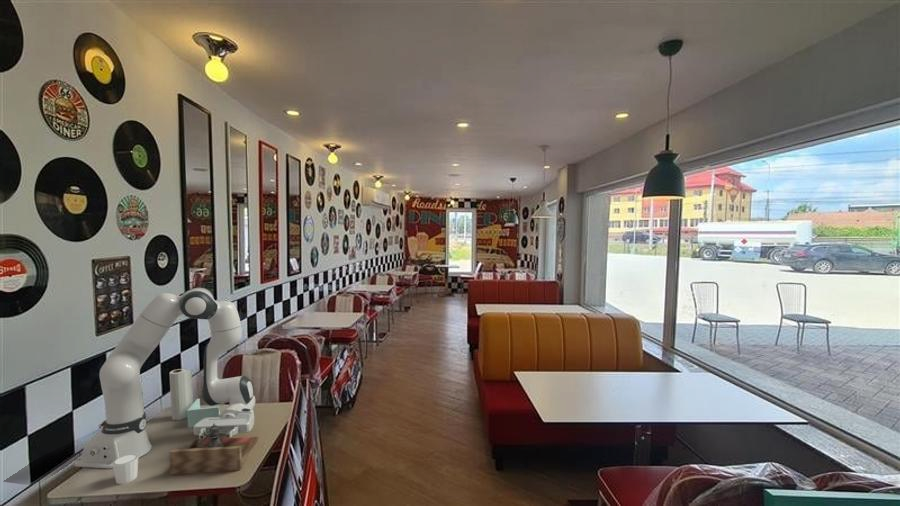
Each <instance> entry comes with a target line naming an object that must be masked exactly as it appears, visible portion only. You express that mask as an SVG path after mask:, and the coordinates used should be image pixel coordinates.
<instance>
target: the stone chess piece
mask: <svg viewBox="0 0 900 506" xmlns="http://www.w3.org/2000/svg"><path fill="white" fill-rule="evenodd" d="M220 435H221V434H220V433H219V427H218V426H217V425H215V424H213V426H211V427H210V435H208V438H209V439H210V444H208V445H207V446H206V448H212V447H223V445H224V442H222V441H220V440H219V439H220Z"/></svg>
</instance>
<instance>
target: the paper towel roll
mask: <svg viewBox="0 0 900 506" xmlns="http://www.w3.org/2000/svg"><path fill="white" fill-rule="evenodd" d="M192 374H193V373H192V369H188V370H186V369H185V368H178V369H173V370H171V371H170V372H169V374H168V375H169V388H170V389H169V390H170V407H171V420H173V421H180V420H183V419H188V418H187V410H188V409H189V408H190V407H191V405H192V404H193V403H194V398H193V397H194V396H193V392H194V391H193V376H192Z"/></svg>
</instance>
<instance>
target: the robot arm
mask: <svg viewBox="0 0 900 506" xmlns="http://www.w3.org/2000/svg"><path fill="white" fill-rule="evenodd" d="M180 316H184V317H186V318H189V319H194V320H207V321H208V324H209V329H210V340H209V342H208V343H207V344H206V345H205V346H204V352H203V373H202V376H203V377H202V378H203V381H202V382H203V383H202V389H201V399H202V401H203V402H204V403H205V404H206V405H208V406H209V407H210V406H211V407H214V406H217V405H221V404H225V403H229V404H228V405H227V406H226V407H225V409H223V410H222V411H220V412H221V414H220V415H219V417H209V418H204V419H202V420H201V421H199V422H198V423H197V424H195V425H194V427H192V428H193V429H192V430H193V434H194V436H198V439H199V440H205V438H206V435H207V436H210V427H211V426H213V424H215V425H217V426H218V427H219V433H220V435H225V437H226V438H233V436H234V435H235V436H236V435H237V434H246V433H249V432H250V431H251V430H252V429H253V427H254V425H255V413H254V408H255V405H256V396H255V390H254V384H253V382H252V381H251V379H250V378H249V377H247V376H246V375H239V376H234V377H228V378H227V377H226V378H218V359H219V357H220V356H221V355H222V354H224V353H226V352H228V351H230V350H233V348H235V347H236V346H237V345H239V343H240V342H241V340H242V338H243V328H242V323H241V319H240V315H239V311H238V309H237V305H235V303H234V302H232V301H227V300H222V301H217V300H215V298H214V294H213V293H212V292H211V291H210V290H209V289H208V288H206V287H201V286H200V287H199V286H197V287H193V288H191V289H188V290H187V291H184V292H182V293H180V294H179V295H176V294H174V293H172V292H171V293H170V292H161V293H159V294H157V295H156V296H155V297H154V298H153V299H152V300H151V301H149V303H148V304H147V305H146V307H144V309H143V310H142V311H141V313H140V314H139V315H138V317H137V318H136V319H135V321H134V322H133V324H132V325H131V326H130V328H129V329H128V330H127V332H126V333H125V334H124V336H122V338H121V340H119V342H118V343H117V345H116V346H115V347H114V349H112V352H111V353H110V354H109V356H108V357H107V358H106V360H105V361H104V363H103V364H102V366H101V368H100V369H99V381H100V387H101V391H102V396H103V399H104V406H105V408H104V409H105V420H104V421H102V423H100V424H99V425H98V429H101V431H99V432H98V433H97V434H96V435H95V436H93V437H92V438H91V439H90V440H88V441H87V442H86V443H85V444H84V446H83V450H82V454H81V455H80V456H79V457H77V459H76V460H75V461H74V466H73V467H79V468H81V467H82V468H97V469H113V464H112V463H113V461H114V460H116V459H117V458H119V457H121V456H124V455H128V454H137V455H138V459H139V458H141V457H144V456H145V455H146V454H147V453H149V452H150V451H151V449H152V447H153V445H152V444H151V442H150V439H149V437H148V433H147V415H146V414H147V413H146V411H145V408H144V407H145V406H144V394H143V393H144V392H143V388H142V383H141V376H140V375H141V374H140V373H141V369H142V367H143V365H144V364H145V362H146V360H147V359H148V358H149V357H150V356H151V354H152V353H153V351H154V350H155V349H156V348H157V347H158V346H159V344H160V342H162V340H163V338H164V337H165V336H166V334H168V332H169V330H171V329H170V328H171V327H172V326H173V324H174V323H175V321H177V319H178V318H179V317H180Z"/></svg>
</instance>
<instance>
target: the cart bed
mask: <svg viewBox="0 0 900 506" xmlns="http://www.w3.org/2000/svg"><path fill="white" fill-rule="evenodd" d="M219 440H220V441H222V442H224V445H223V447H212V448H206V446H207V445H208V444H210V438H209V439H204V441H203V442H202V443H201V444H199V441H198V439H194V440H193V441H192V442H191V443H190V444H189V445H188V446H187V447H186V448H182V449H180V448H178V449H171V450H170V451H169V468H170V475H182V474H184V475H185V474H197V473H198V474H199V473H213V472H214V473H215V472H217V473H218V472H231V471H233V472H234V471H241V470H242V469H243V467H244V466H245V464H246V462H247V461H248V460H249V459H250V457H251V456H252V454H253V452H254V451H255V450H256V449H257V447H258V440H259V436H245V437H243V436H242V437H231V438H225V437H224V438H219Z"/></svg>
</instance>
